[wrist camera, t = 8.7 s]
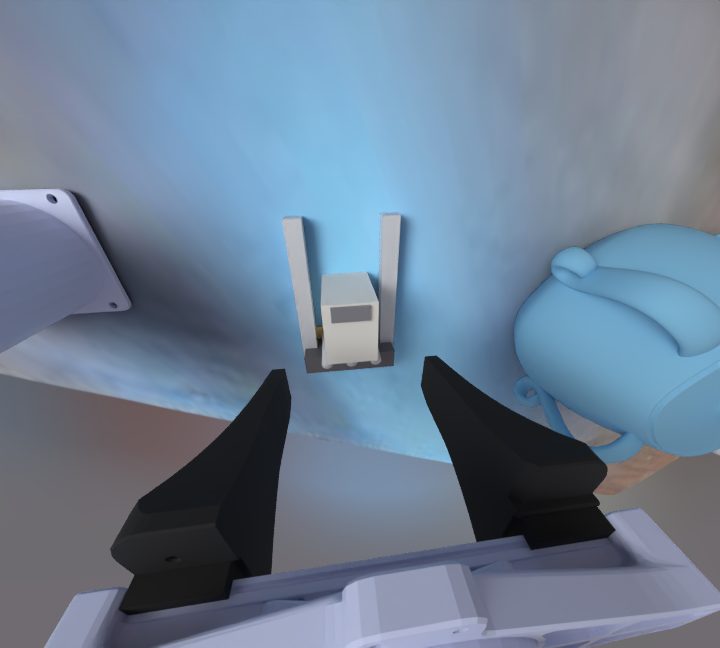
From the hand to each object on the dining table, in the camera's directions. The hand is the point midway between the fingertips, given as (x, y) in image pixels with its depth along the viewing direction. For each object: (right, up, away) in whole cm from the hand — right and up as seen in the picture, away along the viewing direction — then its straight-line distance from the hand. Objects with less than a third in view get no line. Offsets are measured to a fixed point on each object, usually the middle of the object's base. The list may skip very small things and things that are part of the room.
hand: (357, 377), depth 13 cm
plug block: (-1, +5, +8) cm, 9 cm away
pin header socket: (-1, +4, +8) cm, 9 cm away
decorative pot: (+21, +4, +11) cm, 24 cm away
